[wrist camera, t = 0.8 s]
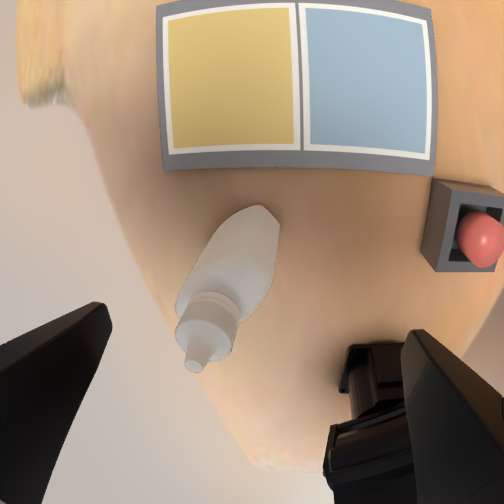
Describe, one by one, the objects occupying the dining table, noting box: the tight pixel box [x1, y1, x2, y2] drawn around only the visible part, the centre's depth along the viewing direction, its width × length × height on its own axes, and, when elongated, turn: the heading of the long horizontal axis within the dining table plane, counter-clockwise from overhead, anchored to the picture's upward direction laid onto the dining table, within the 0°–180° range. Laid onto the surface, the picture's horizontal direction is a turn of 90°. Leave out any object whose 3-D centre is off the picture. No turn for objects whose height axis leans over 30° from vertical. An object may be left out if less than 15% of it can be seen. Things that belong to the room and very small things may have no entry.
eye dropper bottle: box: [175, 205, 280, 373], centre depth 16 cm, size 4×6×12 cm
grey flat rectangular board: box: [156, 0, 438, 177], centre depth 15 cm, size 12×18×1 cm, turn 92°
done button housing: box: [420, 178, 504, 272], centre depth 17 cm, size 6×6×3 cm
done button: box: [456, 210, 504, 268], centre depth 15 cm, size 3×3×2 cm
